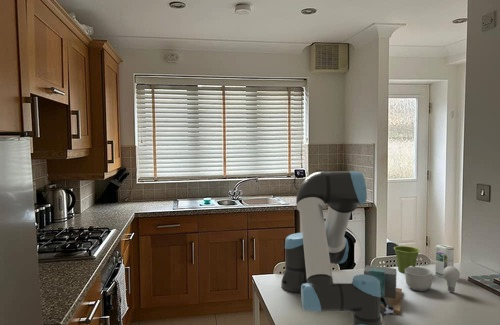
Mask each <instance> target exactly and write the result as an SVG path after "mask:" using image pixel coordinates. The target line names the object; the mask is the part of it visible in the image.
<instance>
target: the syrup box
mask: <svg viewBox="0 0 500 325" xmlns="http://www.w3.org/2000/svg"><path fill="white" fill-rule="evenodd" d="M454 248H455V247H454V246H451V245H447V244H437V245H435V273H434V274H435V276H437V277H440V278H443V279H445V277H444V275H443V270H444V269H445V268H446V267H448V266H453V267H455V266H454V260H455V257H454V256H455V254H454V253H455V249H454Z"/></svg>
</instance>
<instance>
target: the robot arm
mask: <svg viewBox="0 0 500 325" xmlns="http://www.w3.org/2000/svg"><path fill="white" fill-rule="evenodd" d="M367 195H368V194H367V185H366V179H365V176H364V175H363V173H362V172H360V171H357V170H356V171H354V170H337V171H333V170H331V171H329V170H328V171H323V170H321V171H315V172H313V173H311V174H310V175H308V176H307V177H306V178H304V180H303V181H302V182H301V184H300V185H299V187H298V190H297V193H296V200H295V201H296V209H297V211H298V212H300V223H301V232H296V233H292V234H289V235H288V236H286V238H285V241H284V249H285V250H284V252H285V253H284V256H285V257H284V258H285V259H284V261H285V262H284V264H285V265H284V266H285V268H284V270H283V271H284V272H283V275H282V279H281V283H280V284H281V288H282V290H285V291H287V292H291V293H295V294H296V293H297V294H300V297H301V306H302V308H303V310H304V311H307V312H315V313H316V312H318V313H321V312H352V325H383V323H384V318H385V316H386V315H387V314H388V315H390V316H394V314H393V306H391V305H390V303H389V301H388V299H387V296H382V292H381V291H380V282H379V280H378V279H377V278H376V277H374V276H371V275H364V273H363V274H362V273H361V274H356V275H354V276H353V277H352V281H351V283H347V282H346V283H344V282H341V283H339V282H338V283H337V282H335V283H334V280H333V271H332V264H333V265H338V264H339V265H340V264H344V263H345V262H346V261H347V259H348V256H349V248H350V247H349V242H348V239H347V238H346V237H345V235H346V232H347V228H348V224H349V221H350V219H351V214H352V212H354V211H355V210H356V209H357V208H358V206H359V205H363V204H365V203H366V202H367V198H368V197H367ZM326 205H328V206H327V207H328V209H327V212H326V213H327V214H326V217H325V216H324V211H323V210H324V208H326V207H325V206H326ZM324 217H325V219H324ZM381 301H382V302H383V305H384V307H385V308H384V307H383V306H381Z"/></svg>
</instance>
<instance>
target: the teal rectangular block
mask: <svg viewBox="0 0 500 325" xmlns="http://www.w3.org/2000/svg"><path fill="white" fill-rule="evenodd" d="M370 275H371V276H374V277H376V278H377V279H378V280H379V282H380V291H381V292H382V296H385V270H382V269H373V268H371V269H370ZM381 304H383V302H382V301H381Z"/></svg>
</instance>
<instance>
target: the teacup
mask: <svg viewBox="0 0 500 325" xmlns="http://www.w3.org/2000/svg"><path fill="white" fill-rule="evenodd" d="M404 278H405V283H406V285H407V286H408V287H409V288H410V289H412V290H414V291H418V292H424V291H428V289H430V288H431V287H432V285H433V271H432V269H429V268H427V267H422V266H415V267H413V266H409V267H408V268H406V269H405V273H404Z"/></svg>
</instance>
